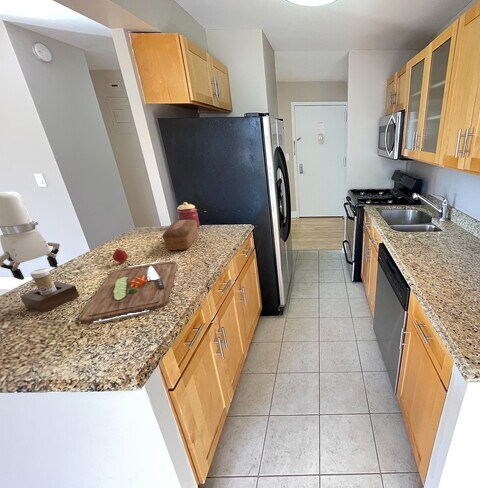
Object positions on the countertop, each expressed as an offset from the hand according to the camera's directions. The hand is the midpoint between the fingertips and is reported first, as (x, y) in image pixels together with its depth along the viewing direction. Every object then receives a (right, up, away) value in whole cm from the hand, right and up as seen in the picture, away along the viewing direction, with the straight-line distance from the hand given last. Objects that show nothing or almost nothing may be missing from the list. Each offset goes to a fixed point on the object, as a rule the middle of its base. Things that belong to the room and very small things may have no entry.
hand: (38, 272), depth 95 cm
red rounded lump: (+3, +1, +36) cm, 36 cm away
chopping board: (+26, -8, +14) cm, 31 cm away
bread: (+20, +11, +61) cm, 66 cm away
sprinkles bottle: (+1, -12, +5) cm, 13 cm away
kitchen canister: (+9, +23, +91) cm, 94 cm away
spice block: (+1, -12, +5) cm, 13 cm away
